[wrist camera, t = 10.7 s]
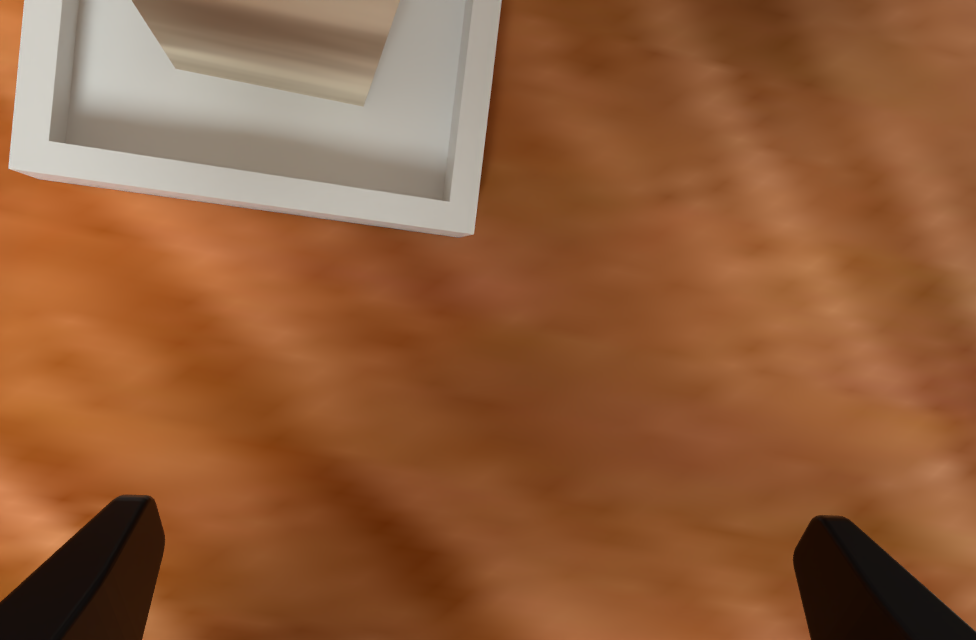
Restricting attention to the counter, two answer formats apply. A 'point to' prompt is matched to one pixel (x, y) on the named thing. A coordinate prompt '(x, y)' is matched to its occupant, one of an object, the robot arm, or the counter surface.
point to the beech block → (277, 42)
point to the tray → (261, 119)
